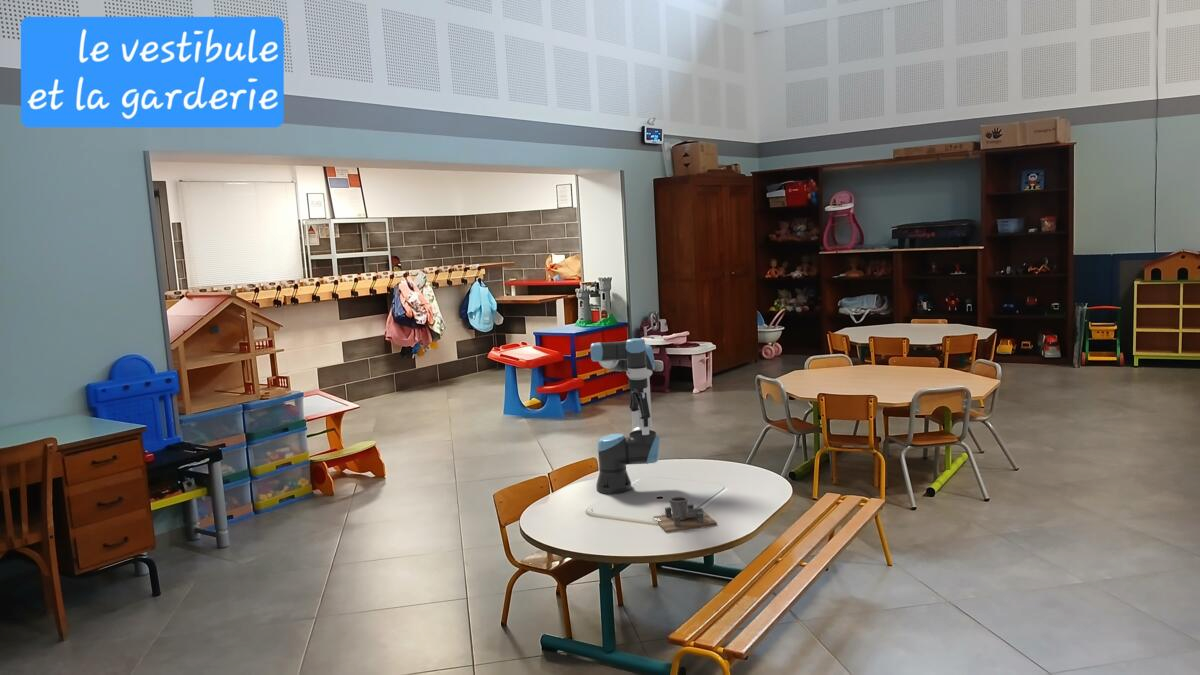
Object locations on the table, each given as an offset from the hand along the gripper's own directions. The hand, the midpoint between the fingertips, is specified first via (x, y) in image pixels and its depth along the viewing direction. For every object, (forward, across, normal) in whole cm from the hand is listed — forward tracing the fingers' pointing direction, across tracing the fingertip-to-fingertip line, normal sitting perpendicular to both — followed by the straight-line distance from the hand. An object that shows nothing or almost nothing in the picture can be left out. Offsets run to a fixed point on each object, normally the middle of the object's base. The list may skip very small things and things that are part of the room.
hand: (640, 430), depth 340 cm
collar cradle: (+31, +22, +9) cm, 39 cm away
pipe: (+31, +22, +10) cm, 39 cm away
